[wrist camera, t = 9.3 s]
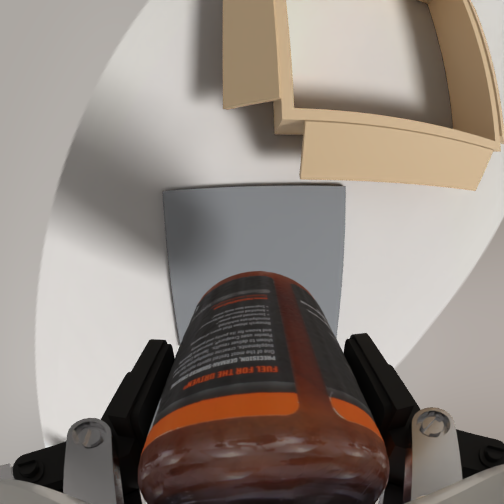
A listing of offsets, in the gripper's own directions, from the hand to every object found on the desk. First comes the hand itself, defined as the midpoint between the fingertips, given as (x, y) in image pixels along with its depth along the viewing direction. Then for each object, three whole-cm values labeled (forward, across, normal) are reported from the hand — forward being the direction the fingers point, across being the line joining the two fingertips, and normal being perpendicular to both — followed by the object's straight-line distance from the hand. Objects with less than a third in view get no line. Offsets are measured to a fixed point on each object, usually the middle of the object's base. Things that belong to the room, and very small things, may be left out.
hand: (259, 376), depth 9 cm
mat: (+11, 0, 0) cm, 11 cm away
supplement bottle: (+4, 0, 0) cm, 4 cm away
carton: (+11, -9, -17) cm, 22 cm away
